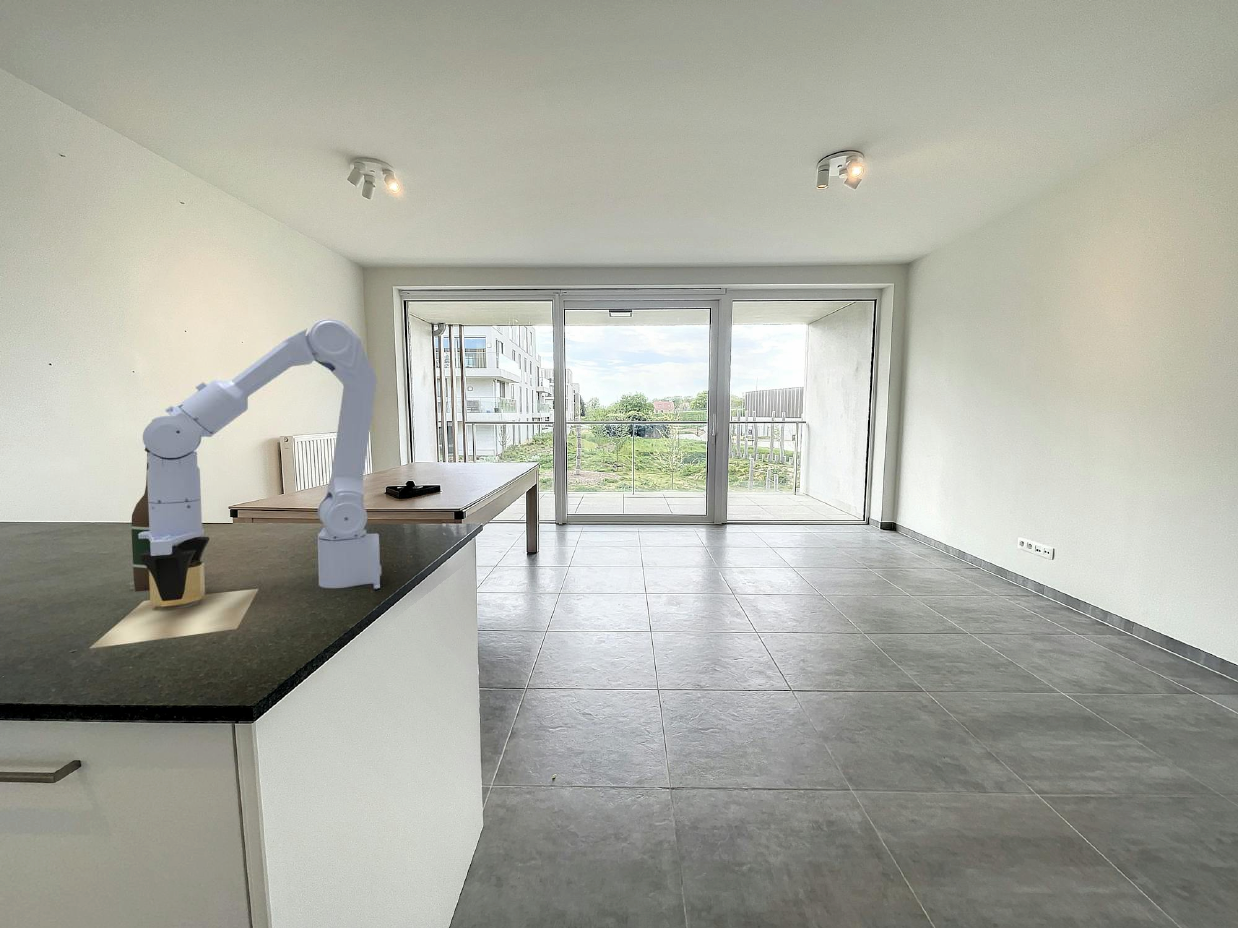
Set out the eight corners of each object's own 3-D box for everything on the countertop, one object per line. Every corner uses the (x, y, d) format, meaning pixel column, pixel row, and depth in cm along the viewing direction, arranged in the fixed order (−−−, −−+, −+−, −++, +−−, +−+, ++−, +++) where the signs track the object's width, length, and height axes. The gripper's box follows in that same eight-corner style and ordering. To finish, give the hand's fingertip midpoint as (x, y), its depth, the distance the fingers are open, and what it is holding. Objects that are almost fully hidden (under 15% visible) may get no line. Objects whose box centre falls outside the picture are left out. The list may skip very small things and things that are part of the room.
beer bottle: (143, 599, 79) (135, 444, 77) (126, 589, 83) (119, 443, 81) (204, 586, 85) (199, 444, 84) (185, 578, 89) (180, 442, 88)
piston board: (258, 594, 82) (257, 555, 81) (237, 635, 66) (235, 587, 65) (144, 607, 75) (142, 564, 75) (89, 656, 59) (86, 602, 59)
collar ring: (207, 591, 78) (206, 559, 77) (197, 602, 73) (196, 568, 72) (160, 596, 75) (158, 563, 75) (146, 608, 70) (144, 572, 70)
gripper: (155, 495, 77) (159, 582, 78) (117, 509, 65) (122, 613, 66) (213, 493, 81) (216, 577, 82) (188, 506, 68) (192, 605, 69)
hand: (179, 593), depth 74 cm, fingers closed on collar ring, 5 cm apart
